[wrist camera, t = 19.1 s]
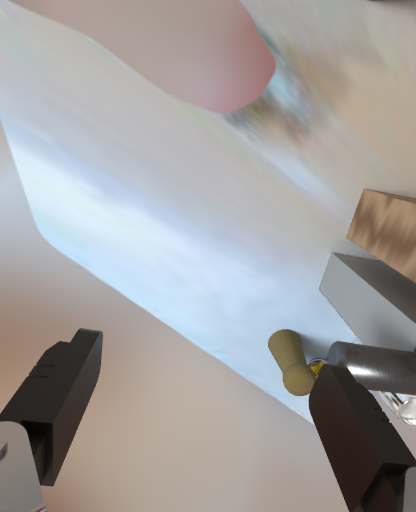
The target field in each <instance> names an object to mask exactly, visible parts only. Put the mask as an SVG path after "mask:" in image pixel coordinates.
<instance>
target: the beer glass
mask: <svg viewBox="0 0 416 512" xmlns="http://www.w3.org/2000/svg"><path fill="white" fill-rule="evenodd" d="M353 343H354V344H361V345H363V344H362V343H361V341H360V340H359V339H358V338H356V339H355V340H354V341H353ZM378 393H379V395H380V396H381V398H382V399H383V400H384V402H385V403H386V404H387V406H388V407H389V408H390V409H391V411H392V412H393V413H394V414H395V415H396V417H397V418H398V419H399V420H400V422H401V423H402V424H403V425H406V426H408V427H416V398H414V397H406V396H404V395H403V394H398V393H390V392H382V391H378Z"/></svg>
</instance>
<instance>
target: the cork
mask: <svg viewBox="0 0 416 512" xmlns="http://www.w3.org/2000/svg"><path fill="white" fill-rule="evenodd" d="M268 347H269V349H270V351H271V353H272V355H273V356H274V358H275V360H276V362H277V364H278V365H279V367H280V369H281V371H282V372H283V383H284V386H285V388H286V389H287V390H288V391H289V392H290V393H291V394H293V395H296V396H304V395H307V394H309V393H310V392H311V390H312V388H313V385H314V383H315V380H316V376H315V373H314V371H313V370H312V369H311V368H310V367H309V366H308V365H307V363H306V359H305V356H304V352H303V349H302V346H301V342H300V339H299V336H298V335H297V333H296V332H294V331H292V330H288V329H286V330H280V331H277V332H275V333H274V334H273V335H272V336H271V337H270V339H269V341H268Z"/></svg>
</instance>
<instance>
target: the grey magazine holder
mask: <svg viewBox="0 0 416 512" xmlns="http://www.w3.org/2000/svg"><path fill="white" fill-rule="evenodd" d="M319 290H320V292H321V293H322V294H323V295H324V297H325V298H326V299H327V300H328V302H329V303H330V304H331V305H332V307H333V308H334V309H335V310H336V312H337V313H338V314H339V315H340V317H341V318H342V319H343V320H344V321H345V323H346V324H347V325H348V326H349V328H350V329H351V330H352V331H353V333H354V334H355V335H356V336H357V338H358V339H359V340H360V341H361V343H362V344H363V345H368V346H376V347H383V348H390V349H397V350H404V351H411V352H416V283H415V282H413V281H411V280H410V279H408V278H407V277H405V276H404V275H402V274H401V273H399V272H398V271H396V270H395V269H393V268H392V267H390V266H389V265H387V264H386V263H384V262H383V261H378V260H372V259H366V258H360V257H354V256H348V255H342V254H336V253H331V256H330V259H329V262H328V265H327V267H326V270H325V273H324V276H323V279H322V282H321V284H320V287H319ZM403 395H404V396H406V397H414V398H416V396H414V395H406V394H403Z"/></svg>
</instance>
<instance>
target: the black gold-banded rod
mask: <svg viewBox="0 0 416 512" xmlns="http://www.w3.org/2000/svg"><path fill="white" fill-rule="evenodd" d="M328 364H332V365H339V366H345V367H347V368H348V369H349V370H350V372H351V374H352V375H353V377H354V378H355V380H356V382H357V383H360V384H362V385H363V386H364V387H365V388H366V389H367V390H375V391H382V392H390V393H398V394H406V395H414V396H416V352H411V351H404V350H397V349H390V348H383V347H376V346H368V345H361V344H354V343H347V342H340V341H337V342H335V343H333V345H332V346H331V348H330V350H329V353H328Z"/></svg>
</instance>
